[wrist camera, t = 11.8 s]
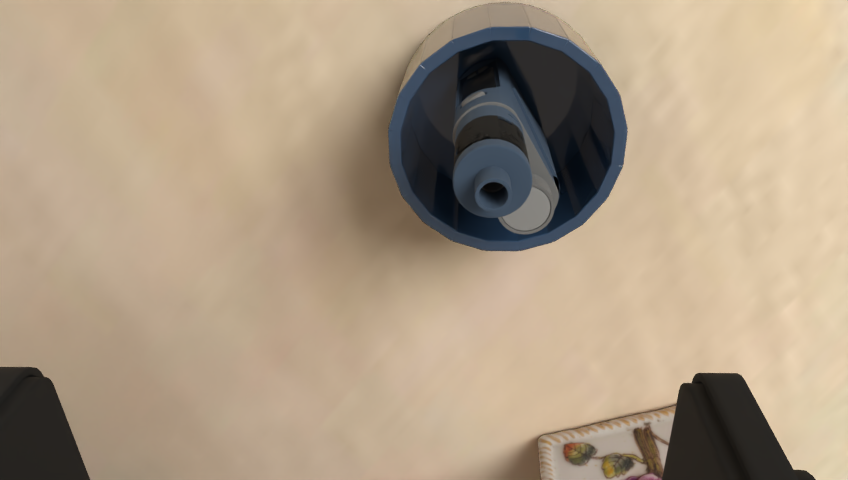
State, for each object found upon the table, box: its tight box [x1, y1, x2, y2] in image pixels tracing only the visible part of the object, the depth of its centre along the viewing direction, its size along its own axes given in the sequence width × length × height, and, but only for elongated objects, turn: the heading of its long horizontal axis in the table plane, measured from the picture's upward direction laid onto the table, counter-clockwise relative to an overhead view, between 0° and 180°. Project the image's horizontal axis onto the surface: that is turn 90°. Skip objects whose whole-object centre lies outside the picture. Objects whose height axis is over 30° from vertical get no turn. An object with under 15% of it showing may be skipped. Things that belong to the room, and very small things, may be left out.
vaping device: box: [453, 57, 560, 234], centre depth 25 cm, size 3×5×12 cm, turn 31°
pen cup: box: [388, 2, 628, 251], centre depth 28 cm, size 9×9×6 cm
